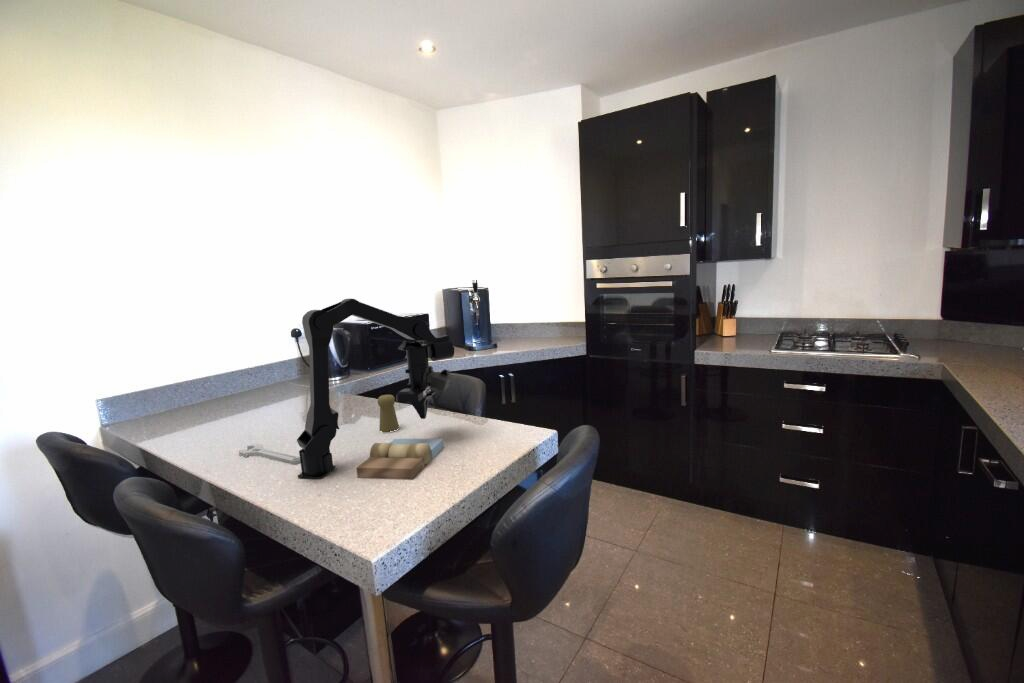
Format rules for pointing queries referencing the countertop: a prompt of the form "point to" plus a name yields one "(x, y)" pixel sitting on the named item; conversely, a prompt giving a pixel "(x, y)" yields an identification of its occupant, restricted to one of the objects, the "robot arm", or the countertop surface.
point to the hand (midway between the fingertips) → (423, 418)
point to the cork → (387, 413)
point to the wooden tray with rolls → (394, 462)
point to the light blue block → (401, 445)
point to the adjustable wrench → (269, 454)
